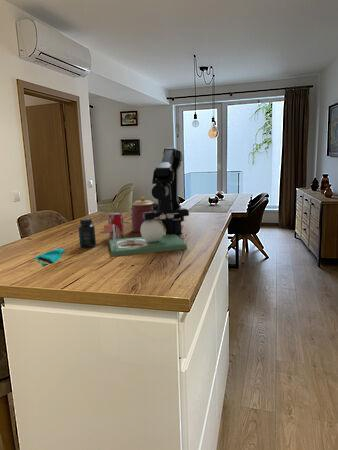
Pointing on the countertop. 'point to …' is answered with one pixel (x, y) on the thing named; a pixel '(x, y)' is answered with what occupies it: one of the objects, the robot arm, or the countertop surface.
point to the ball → (152, 230)
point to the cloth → (51, 256)
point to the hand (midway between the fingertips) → (167, 234)
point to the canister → (140, 213)
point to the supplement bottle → (87, 234)
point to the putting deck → (143, 244)
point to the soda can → (116, 225)
